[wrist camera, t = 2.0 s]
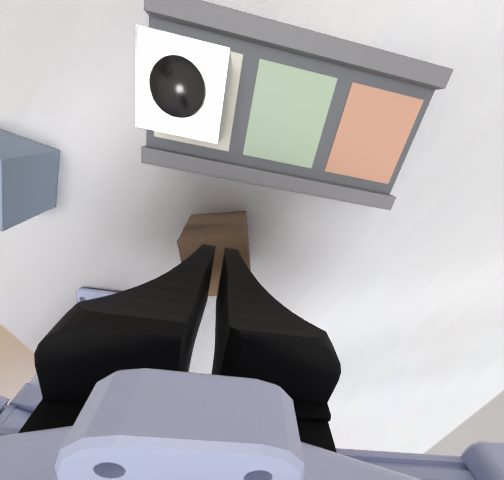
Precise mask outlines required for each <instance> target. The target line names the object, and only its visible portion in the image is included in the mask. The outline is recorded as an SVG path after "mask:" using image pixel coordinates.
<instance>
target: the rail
mask: <svg viewBox="0 0 504 480" xmlns="http://www.w3.org/2000/svg"><path fill="white" fill-rule="evenodd" d="M144 10H145V11H146V12H147V14H148V15H149V28H153V29H157V30H160V31H164V32H168V33H172V34H176V35H180V36H184V37H188V38H192V39H196V40H200V41H204V42H208V43H212V44H216V45H219V46H223V47H227V48H230V52H231V59H232V66H233V69H232V76H231V83H230V90H229V98H228V105H227V112H226V119H225V126H224V133H223V138H222V139H221V140H220V141H219V142H218V143H212V142H208V141H203V140H198V139H193V138H188V137H183V136H179V135H174V134H169V133H164V132H159V131H154V130H150V129H147V141H146V146H143V147H142V159H141V163H146V164H151V165H156V166H162V167H167V168H172V169H177V170H183V171H188V172H193V173H198V174H204V175H209V176H214V177H219V178H224V179H230V180H235V181H240V182H245V183H251V184H256V185H261V186H266V187H272V188H277V189H282V190H287V191H293V192H298V193H303V194H308V195H314V196H319V197H324V198H329V199H335V200H340V201H345V202H350V203H355V204H361V205H366V206H371V207H376V208H382V209H387V210H391V208H392V205H393V203H394V201H395V199H396V197H394V196H392V195H390V192H391V190H392V187H393V185H394V183H395V180H396V178H397V176H398V174H399V171H400V169H401V167H402V164H403V162H404V160H405V157H406V155H407V153H408V151H409V148H410V146H411V144H412V141H413V139H414V137H415V135H416V132H417V130H418V128H419V125H420V123H421V121H422V118H423V116H424V114H425V112H426V109H427V107H428V105H429V102H430V100H431V98H432V96H433V93H434V91H435V90H438V89H444V88H445V87H446V85H447V83H448V81H449V78H450V76H451V74H452V72H453V70H454V69H450V68H447V67H443V66H439V65H436V64H432V63H428V62H425V61H421V60H418V59H414V58H410V57H407V56H403V55H399V54H396V53H392V52H388V51H385V50H381V49H377V48H374V47H370V46H366V45H363V44H359V43H355V42H352V41H348V40H344V39H341V38H337V37H333V36H330V35H326V34H322V33H319V32H315V31H311V30H308V29H304V28H300V27H297V26H293V25H289V24H286V23H282V22H278V21H275V20H271V19H267V18H264V17H260V16H257V15H253V14H249V13H246V12H242V11H238V10H235V9H231V8H227V7H224V6H220V5H216V4H213V3H209V2H205V1H202V0H144Z"/></svg>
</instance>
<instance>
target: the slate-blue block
mask: <svg viewBox="0 0 504 480" xmlns="http://www.w3.org/2000/svg"><path fill="white" fill-rule="evenodd" d="M59 157H60V150H58V149H55V148H52V147H50V146H47V145H44V144H41V143H38V142H35V141H33V140H30V139H27V138H24V137H21V136H19V135H16V134H13V133H10V132H7V131H4V130H2V129H0V231H4V230H6V229H9V228H11V227H13V226H15V225H17V224H19V223H22V222H24V221H26V220H28V219H30V218H32V217H34V216H37V215H39V214H41V213H43V212H45V211H47V210H49V209H52V208H54V207H56V198H57V184H58V171H59Z"/></svg>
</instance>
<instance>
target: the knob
mask: <svg viewBox="0 0 504 480" xmlns="http://www.w3.org/2000/svg"><path fill="white" fill-rule="evenodd" d="M232 69H233V66H232V59H231V52H230V48H227V47H223V46H219V45H216V44H212V43H208V42H204V41H200V40H196V39H192V38H188V37H184V36H180V35H176V34H172V33H168V32H164V31H160V30H157V29H153V28H149V27H145V26H141V25H137V24H136V51H135V127H140V128H145V129H150V130H154V131H159V132H164V133H169V134H174V135H179V136H183V137H188V138H193V139H198V140H203V141H208V142H212V143H218V142H219V141H220V140H221V139H222V138H223V133H224V126H225V119H226V112H227V105H228V98H229V90H230V83H231V76H232Z"/></svg>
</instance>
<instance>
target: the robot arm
mask: <svg viewBox="0 0 504 480" xmlns="http://www.w3.org/2000/svg"><path fill="white" fill-rule="evenodd" d="M215 249H216V246H212V245H206V244H202V245H201V246H200V247H199V248H198V249H197V250H196V251H195V252H193V253H192V254H191V255H190V256H189V257H188V258H187V259H185V260H184V261H183V262H182V263H180V264H179V265H177V266H176V267H175V268H173V269H172V270H170V271H169V272H167V273H165V274H163V275H162V276H160V277H158V278H156V279H154V280H151V281H149V282H147V283H144V284H142V285H139V286H137V287H134V288H131V289H128V290H125V291H122V292H119V293H118V292H111V291H103V290H95V289H88V288H80V289H79V290H78V291H77V293H76V295H77V304H76V305H75V306H74V307H73V308H72V309H70V310H69V311H68V312H67V313H66V314H65V315H64V316H63V317H62V319H61V320H60V321H59V322H58V323H57V324H56V325H55V326H54V327H53V328H52V330H51V331H50V332H49V333H48V334H47V335H46V336H45V337H44V338H43V340H42V341H41V342H40V343H39V344H38V346H37V349H36V351H35V353H34V356H35V357H34V358H35V367H36V372H37V374H36V375H35V376H34V378H33V379H32V380H31V381H30V383H26V384H25V385H24V387H23V388H22V389H21V390H20V391H19V393H18V394H17V395H16V396H15V397H14V399H13V400H12V401H11V402H10V404H9V405H6V404H7V403H8V401H9V399H8V398H6V397H4V396H0V480H504V443H502V442H489V441H479V442H476V443H473V444H471V445H470V446H468V447H467V448H466V449H465V450H464V452H463V453H462V455H461V457H460V456H445V455H429V454H415V453H399V452H384V451H368V450H353V449H338V448H335V445H334V441H333V438H332V434H331V431H330V428H329V424H328V421H330V419H331V414H330V411H329V407H328V404H327V402H328V400H329V398H330V396H331V394H332V392H333V390H334V388H335V387H336V385H337V383H338V380H339V377H340V374H341V365H340V362H339V359H338V357H337V354H336V352H335V349H334V347H333V345H332V343H331V341H330V339H329V337H328V335H327V333H326V332H325V331H323V330H322V329H320V328H318V327H316V326H314V325H312V324H311V323H309V322H307V321H305V320H303V319H302V318H300V317H299V316H297V315H296V314H294V313H293V312H291V311H290V310H288V309H287V308H286V307H284V306H283V305H282V304H281V303H279V302H278V301H277V300H276V299H275V298H274V297H272V296H271V295H270V294H269V293H268V292H267V291H266V290H265V289H264V288H263V287H262V285H261V284H260V283H259V282H258V281H257V279H256V278H255V277H254V275H253V274H252V273H251V271H250V270H249V268H248V266H247V265H246V263H245V261H244V260H243V258H242V256H241V254H240V252H239V250H238V249H231V248H225V250H224V256H223V262H222V268H221V274H220V279H219V285H218V292H217V299H216V328H215V352H214V360H213V368H212V374H201V373H191V372H188V371H189V366H190V361H191V356H192V351H193V347H194V343H195V339H196V336H197V332H198V329H199V326H200V322H201V319H202V316H203V312H204V309H205V306H206V302H207V298H208V293H209V287H210V281H211V275H212V269H213V262H214V256H215ZM83 297H84V298H85V299H84V298H83Z"/></svg>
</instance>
